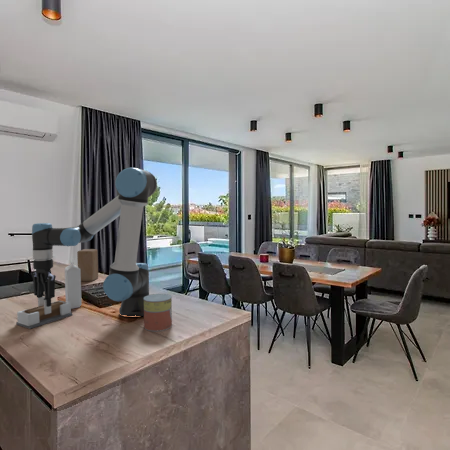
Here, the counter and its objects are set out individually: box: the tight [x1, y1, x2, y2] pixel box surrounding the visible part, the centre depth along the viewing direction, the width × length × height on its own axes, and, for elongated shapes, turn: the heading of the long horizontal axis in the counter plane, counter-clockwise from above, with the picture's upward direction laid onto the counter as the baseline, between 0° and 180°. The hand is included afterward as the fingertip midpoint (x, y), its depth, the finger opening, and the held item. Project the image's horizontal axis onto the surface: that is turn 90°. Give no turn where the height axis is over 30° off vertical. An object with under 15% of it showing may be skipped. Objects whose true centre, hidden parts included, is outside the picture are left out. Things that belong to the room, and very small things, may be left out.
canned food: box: [143, 293, 173, 332], centre depth 135 cm, size 11×11×12 cm
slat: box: [24, 300, 63, 321], centre depth 144 cm, size 4×15×5 cm, turn 150°
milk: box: [64, 261, 83, 310], centre depth 162 cm, size 6×6×22 cm
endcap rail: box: [15, 300, 73, 330], centre depth 144 cm, size 10×19×6 cm, turn 150°
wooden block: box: [76, 248, 99, 282], centre depth 220 cm, size 10×10×20 cm
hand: (44, 312), depth 144 cm, fingers open, 4 cm apart
